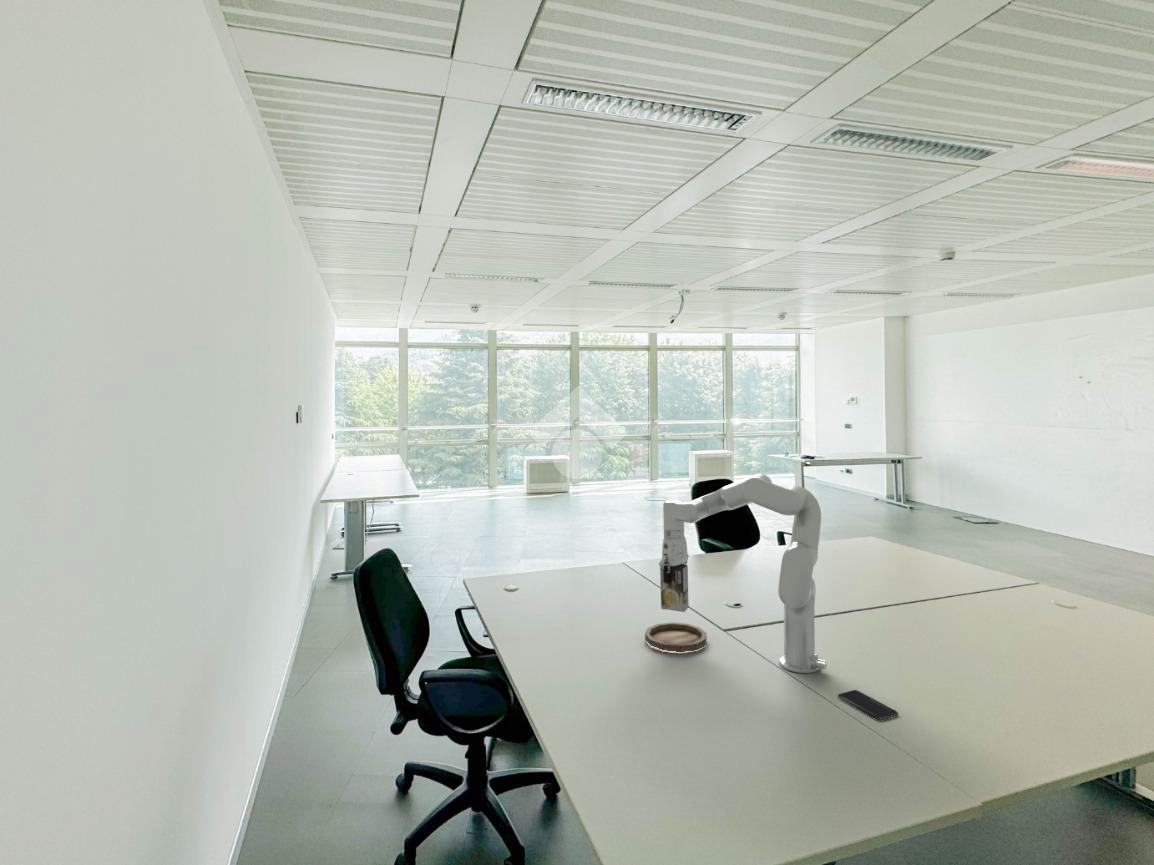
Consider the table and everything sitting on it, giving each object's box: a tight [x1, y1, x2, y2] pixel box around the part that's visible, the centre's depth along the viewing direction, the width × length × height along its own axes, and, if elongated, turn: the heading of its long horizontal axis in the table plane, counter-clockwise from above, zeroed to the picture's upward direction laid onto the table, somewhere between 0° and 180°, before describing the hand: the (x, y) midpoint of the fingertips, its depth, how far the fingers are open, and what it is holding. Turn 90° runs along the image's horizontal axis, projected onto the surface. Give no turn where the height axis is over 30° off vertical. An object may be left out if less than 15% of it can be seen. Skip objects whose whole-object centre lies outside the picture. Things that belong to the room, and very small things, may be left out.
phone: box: [837, 689, 899, 721], centre depth 168 cm, size 8×1×15 cm
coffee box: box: [659, 564, 690, 613], centre depth 217 cm, size 9×6×16 cm
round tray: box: [644, 622, 707, 652], centre depth 218 cm, size 22×22×3 cm
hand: (674, 580), depth 217 cm, fingers closed on coffee box, 7 cm apart
